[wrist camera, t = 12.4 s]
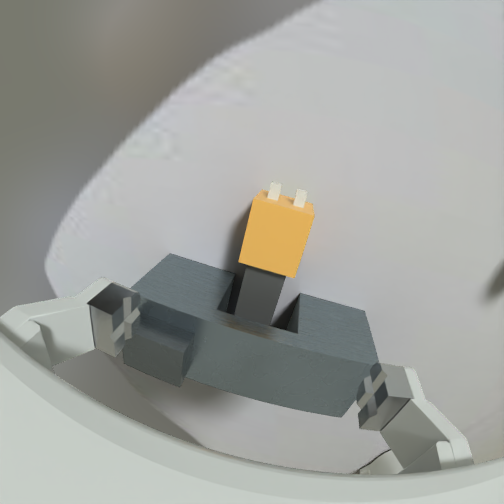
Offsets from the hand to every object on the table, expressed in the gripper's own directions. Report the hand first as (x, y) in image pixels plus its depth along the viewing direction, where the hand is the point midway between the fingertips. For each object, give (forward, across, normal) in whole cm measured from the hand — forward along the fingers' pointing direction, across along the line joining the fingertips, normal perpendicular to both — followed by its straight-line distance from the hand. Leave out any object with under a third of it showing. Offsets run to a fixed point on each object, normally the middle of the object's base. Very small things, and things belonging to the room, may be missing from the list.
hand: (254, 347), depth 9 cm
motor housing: (+17, 0, +10) cm, 20 cm away
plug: (+17, 0, +8) cm, 18 cm away
